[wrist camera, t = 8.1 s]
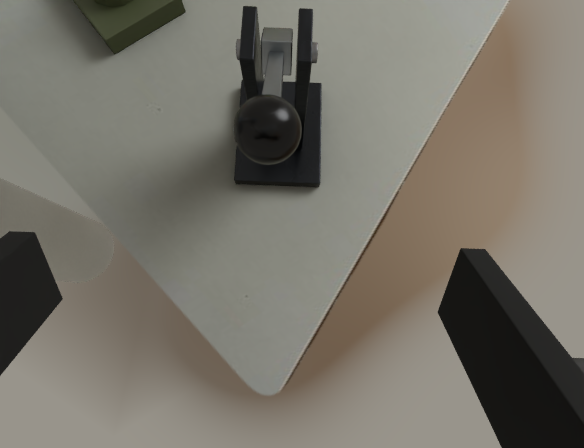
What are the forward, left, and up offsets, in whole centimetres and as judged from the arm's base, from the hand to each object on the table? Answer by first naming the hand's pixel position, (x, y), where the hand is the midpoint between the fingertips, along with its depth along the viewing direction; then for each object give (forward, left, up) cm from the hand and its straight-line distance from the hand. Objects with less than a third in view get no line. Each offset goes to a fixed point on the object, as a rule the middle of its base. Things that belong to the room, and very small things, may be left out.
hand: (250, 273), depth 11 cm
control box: (-40, +7, -24) cm, 47 cm away
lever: (-9, +8, -10) cm, 15 cm away
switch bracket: (-14, +11, -24) cm, 30 cm away
